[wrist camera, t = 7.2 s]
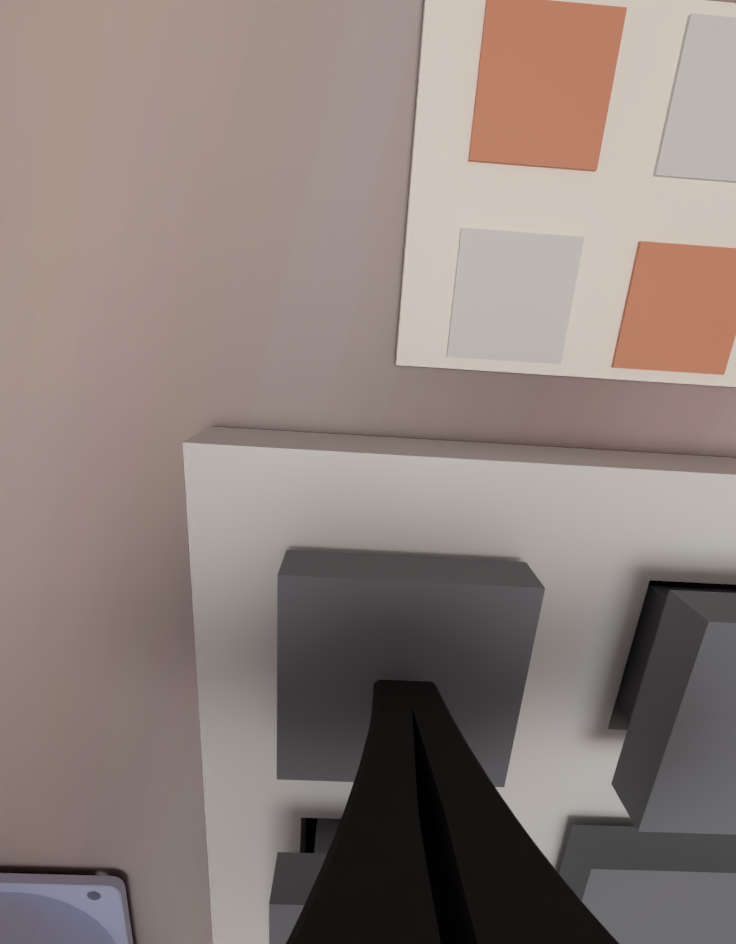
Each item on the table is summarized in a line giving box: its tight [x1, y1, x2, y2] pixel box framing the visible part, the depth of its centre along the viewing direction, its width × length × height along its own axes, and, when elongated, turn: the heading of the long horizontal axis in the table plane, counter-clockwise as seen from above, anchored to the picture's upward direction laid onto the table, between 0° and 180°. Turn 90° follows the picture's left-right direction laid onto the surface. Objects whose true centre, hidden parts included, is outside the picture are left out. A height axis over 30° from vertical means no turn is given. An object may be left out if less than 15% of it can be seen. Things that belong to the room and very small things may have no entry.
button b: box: [559, 825, 736, 944], centre depth 15 cm, size 6×6×3 cm
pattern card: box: [395, 0, 736, 387], centre depth 11 cm, size 10×8×1 cm
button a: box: [269, 818, 341, 944], centre depth 14 cm, size 6×6×3 cm
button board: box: [183, 426, 736, 944], centre depth 14 cm, size 20×20×2 cm
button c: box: [277, 550, 545, 787], centre depth 12 cm, size 6×6×3 cm
